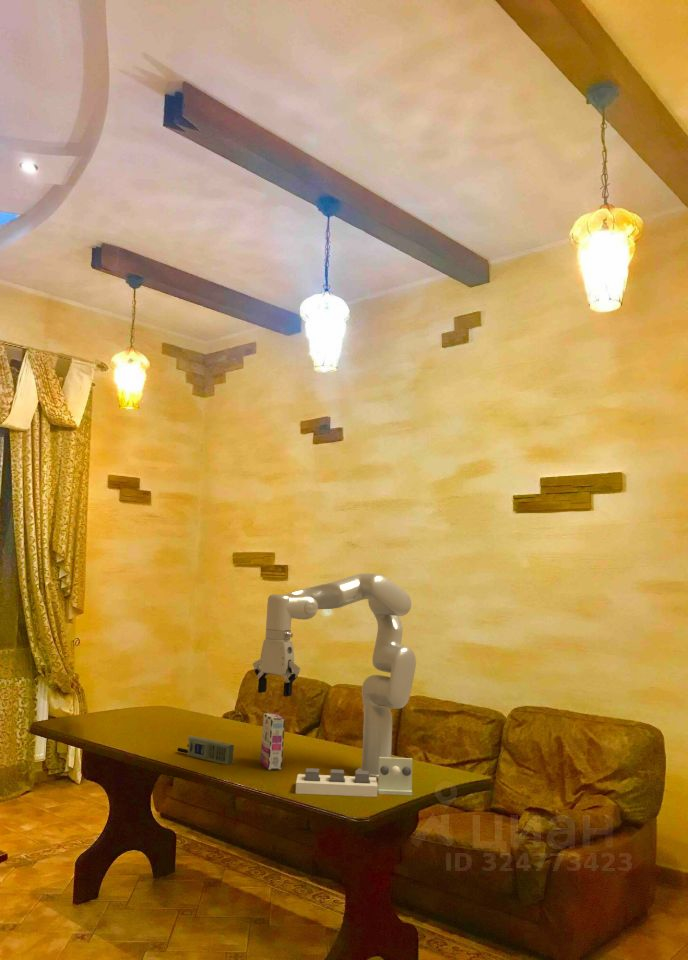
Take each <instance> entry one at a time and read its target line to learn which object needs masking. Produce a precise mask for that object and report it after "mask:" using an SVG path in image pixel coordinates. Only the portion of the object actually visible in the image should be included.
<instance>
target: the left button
mask: <svg viewBox="0 0 688 960" xmlns="http://www.w3.org/2000/svg"><path fill="white" fill-rule="evenodd" d="M304 774H305V781H319V775H320V768H309V767H308V768H307V767H306V768H305V773H304Z"/></svg>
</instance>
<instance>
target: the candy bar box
mask: <svg viewBox="0 0 688 960" xmlns="http://www.w3.org/2000/svg"><path fill="white" fill-rule="evenodd" d="M262 719H263V720H262V721H263V722H262V731H261V733H262V735H261V746H260V747H261V750H260V760H259V761H260V764H261V765H262V766H263V767H264V768H266V769H267V770H268V771H281V770H282V769H283V753H284V741H285V739H284V738H285V721H286V719H285V718H284V716H283V717H282V715H280V714H278V713H276V712H275V713H274V712H271V713H267V712H266V713H263V717H262Z"/></svg>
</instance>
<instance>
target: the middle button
mask: <svg viewBox="0 0 688 960" xmlns="http://www.w3.org/2000/svg"><path fill="white" fill-rule="evenodd" d="M344 776H345V770H344V769H336V768H335V769H330V782H344Z"/></svg>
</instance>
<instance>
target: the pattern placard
mask: <svg viewBox="0 0 688 960" xmlns="http://www.w3.org/2000/svg"><path fill="white" fill-rule="evenodd" d="M377 780H378V781H377V785H378V792H377V795H393V796H394V795H395V796H397V795H398V796H413V789H412V788H413V758H412V757H410V758H407V757H392V756H391V757H379V778H378V779H377Z"/></svg>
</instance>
